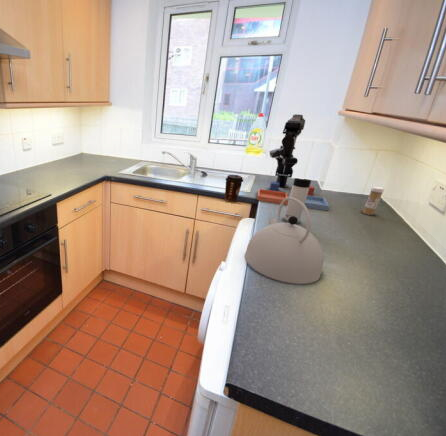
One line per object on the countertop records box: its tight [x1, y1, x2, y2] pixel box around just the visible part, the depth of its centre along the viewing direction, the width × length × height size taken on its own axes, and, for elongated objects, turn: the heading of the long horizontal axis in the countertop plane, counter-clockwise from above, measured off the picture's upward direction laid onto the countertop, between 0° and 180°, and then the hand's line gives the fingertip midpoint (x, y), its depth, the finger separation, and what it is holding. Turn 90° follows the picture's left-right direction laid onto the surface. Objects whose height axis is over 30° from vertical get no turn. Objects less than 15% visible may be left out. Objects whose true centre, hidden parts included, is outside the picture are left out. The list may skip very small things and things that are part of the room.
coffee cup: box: [224, 174, 244, 203], centre depth 156 cm, size 9×8×13 cm
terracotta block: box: [307, 185, 316, 196], centre depth 171 cm, size 4×4×4 cm
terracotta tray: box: [256, 188, 289, 206], centre depth 162 cm, size 15×15×2 cm
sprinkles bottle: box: [362, 185, 385, 216], centre depth 142 cm, size 5×5×14 cm
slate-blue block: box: [268, 181, 280, 192], centre depth 176 cm, size 4×4×4 cm
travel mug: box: [283, 177, 312, 225], centre depth 130 cm, size 6×7×20 cm
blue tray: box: [304, 195, 330, 211], centre depth 156 cm, size 15×15×2 cm
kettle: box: [244, 196, 325, 285], centre depth 96 cm, size 25×23×22 cm
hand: (281, 172), depth 167 cm, fingers open, 9 cm apart
